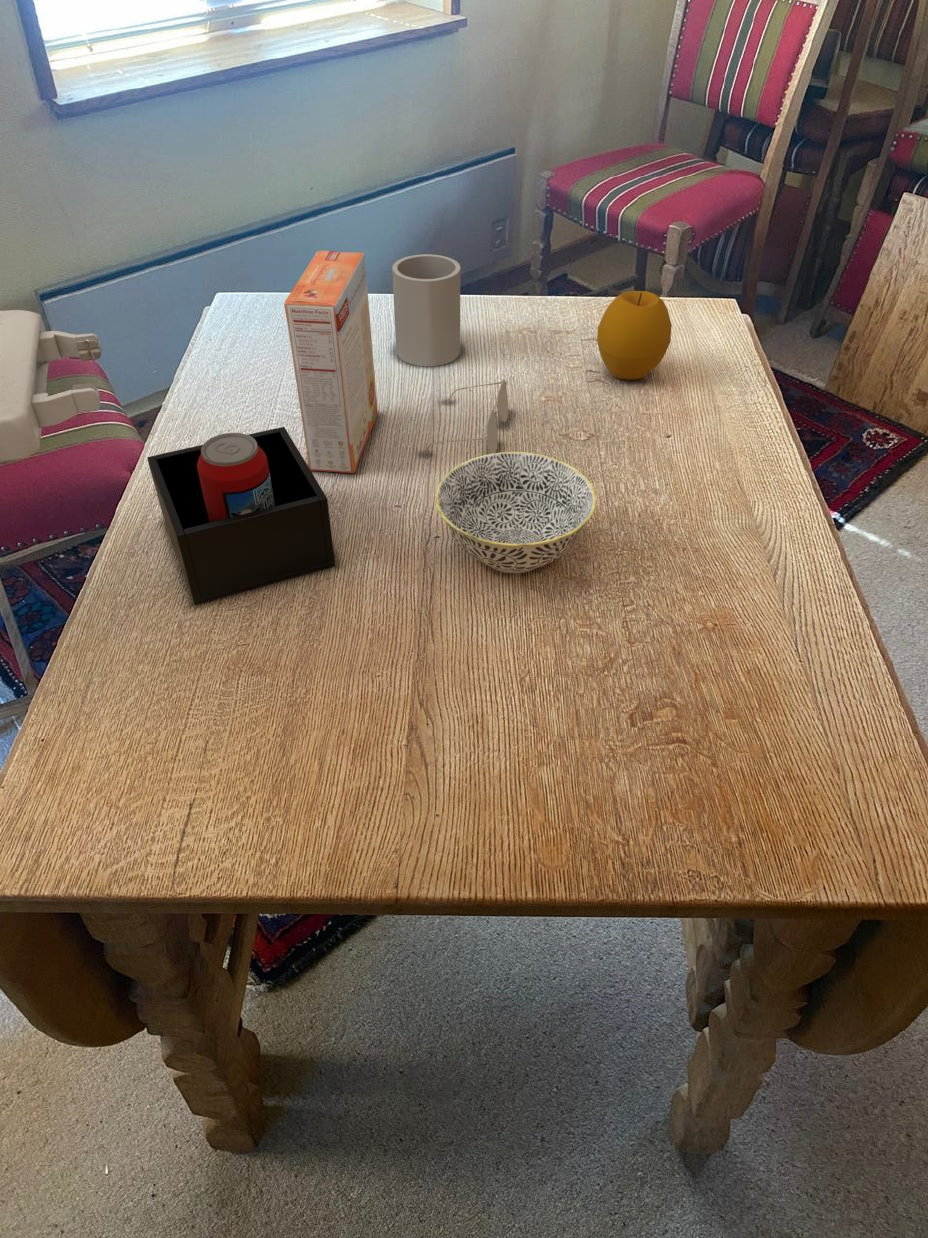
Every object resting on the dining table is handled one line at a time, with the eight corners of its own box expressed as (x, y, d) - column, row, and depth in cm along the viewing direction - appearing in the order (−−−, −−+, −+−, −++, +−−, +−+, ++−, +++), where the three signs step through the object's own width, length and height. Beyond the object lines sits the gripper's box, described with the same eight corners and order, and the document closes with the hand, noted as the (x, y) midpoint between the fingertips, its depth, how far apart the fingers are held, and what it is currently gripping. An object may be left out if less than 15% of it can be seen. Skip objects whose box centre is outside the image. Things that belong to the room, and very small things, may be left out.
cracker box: (333, 411, 117) (316, 247, 102) (379, 415, 116) (368, 250, 102) (304, 472, 107) (280, 298, 92) (354, 476, 106) (338, 302, 92)
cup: (459, 366, 126) (459, 281, 118) (394, 365, 126) (390, 280, 118) (460, 337, 132) (460, 254, 124) (398, 336, 133) (394, 253, 124)
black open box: (194, 605, 89) (176, 536, 83) (165, 524, 99) (146, 456, 93) (335, 566, 94) (327, 497, 88) (294, 492, 103) (284, 426, 98)
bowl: (477, 621, 88) (478, 561, 83) (413, 531, 98) (411, 472, 93) (617, 576, 93) (626, 517, 88) (542, 495, 103) (546, 437, 98)
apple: (619, 400, 119) (631, 314, 111) (577, 369, 125) (586, 286, 117) (678, 382, 123) (693, 298, 115) (634, 353, 129) (646, 271, 121)
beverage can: (260, 572, 92) (241, 472, 84) (203, 556, 94) (179, 457, 86) (292, 534, 97) (277, 436, 89) (237, 520, 98) (218, 423, 90)
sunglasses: (491, 465, 108) (485, 428, 104) (424, 466, 110) (416, 430, 107) (511, 407, 118) (506, 372, 114) (449, 409, 120) (442, 375, 117)
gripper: (-122, 420, 63) (86, 392, 66) (-78, 304, 78) (90, 286, 81) (-85, 495, 67) (109, 466, 70) (-50, 372, 82) (109, 353, 85)
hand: (99, 369), depth 75 cm, fingers open, 8 cm apart
